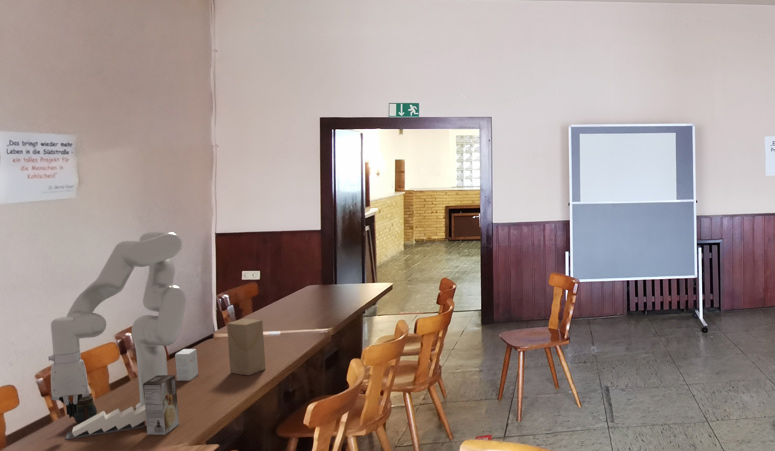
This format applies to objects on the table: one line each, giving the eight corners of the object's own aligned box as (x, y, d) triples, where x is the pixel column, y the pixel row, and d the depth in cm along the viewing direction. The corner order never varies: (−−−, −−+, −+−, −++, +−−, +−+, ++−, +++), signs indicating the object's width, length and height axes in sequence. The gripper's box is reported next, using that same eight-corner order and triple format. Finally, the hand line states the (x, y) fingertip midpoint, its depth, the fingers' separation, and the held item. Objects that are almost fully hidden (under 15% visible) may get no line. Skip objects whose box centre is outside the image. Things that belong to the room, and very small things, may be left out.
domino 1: (73, 427, 225) (103, 410, 227) (75, 431, 225) (106, 414, 228) (71, 432, 220) (103, 415, 223) (74, 436, 220) (105, 419, 223)
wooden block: (248, 375, 279) (244, 325, 278) (229, 373, 284) (226, 323, 283) (266, 369, 287) (262, 319, 286) (247, 366, 293) (244, 318, 291)
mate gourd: (100, 422, 234) (97, 392, 233) (75, 428, 230) (71, 397, 229) (95, 416, 240) (92, 387, 239) (71, 421, 236) (68, 392, 235)
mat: (67, 433, 225) (67, 432, 225) (144, 421, 232) (144, 420, 232) (65, 439, 219) (65, 438, 219) (145, 427, 227) (145, 426, 227)
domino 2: (88, 424, 226) (118, 408, 229) (90, 429, 226) (120, 412, 229) (87, 430, 221) (118, 413, 224) (89, 434, 222) (120, 417, 224)
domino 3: (102, 422, 228) (131, 406, 230) (104, 427, 228) (134, 410, 231) (101, 427, 223) (131, 410, 226) (104, 432, 223) (134, 415, 226)
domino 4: (116, 420, 229) (145, 404, 232) (118, 424, 229) (147, 408, 232) (115, 425, 224) (145, 408, 227) (118, 429, 224) (148, 413, 227)
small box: (185, 374, 285) (183, 348, 285) (198, 374, 285) (196, 348, 284) (176, 380, 278) (174, 354, 277) (190, 380, 277) (188, 353, 276)
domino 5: (129, 418, 230) (159, 402, 233) (132, 422, 231) (161, 406, 233) (129, 423, 226) (159, 406, 228) (132, 427, 226) (162, 410, 229)
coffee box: (161, 424, 229) (157, 374, 227) (179, 424, 228) (176, 374, 226) (146, 434, 220) (142, 383, 218) (166, 435, 219) (161, 383, 217)
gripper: (39, 364, 215) (44, 424, 216) (93, 357, 220) (98, 415, 221) (41, 358, 222) (47, 416, 223) (94, 351, 227) (99, 408, 228)
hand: (72, 416), depth 222 cm, fingers closed
